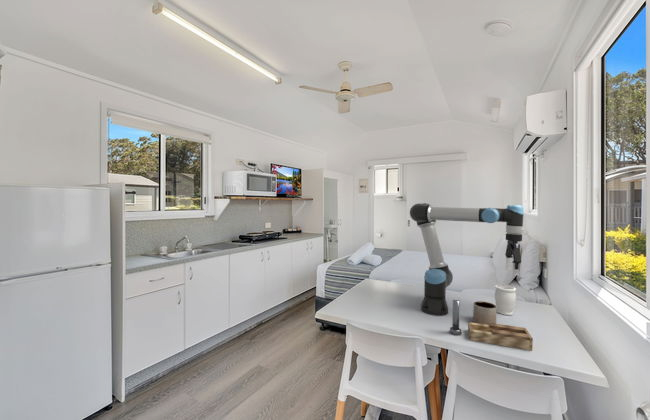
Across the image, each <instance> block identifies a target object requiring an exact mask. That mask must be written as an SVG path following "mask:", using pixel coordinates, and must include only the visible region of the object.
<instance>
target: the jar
mask: <svg viewBox="0 0 650 420" xmlns="http://www.w3.org/2000/svg"><path fill="white" fill-rule="evenodd" d="M494 288H495V292H494V301H495V302H494V303H495V305H496V307H497V309H496V313H498V314H500V315H505V316H513V315H514V312H513V311H515V310H514V309H515V307H516V306H515V305H516V301H517V295H516V290H517V288H516V287H514V286H511V285H505V284H496V285H494Z"/></svg>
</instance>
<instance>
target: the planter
mask: <svg viewBox="0 0 650 420" xmlns="http://www.w3.org/2000/svg"><path fill="white" fill-rule="evenodd" d="M496 310H497V307H496V304H495V303H494V304H493V303H491V302H487V301H479V300H478V301H477V300H476V301H474V302H473V310H472V311H473V312H472V313H473V314H472V320H473V322H474V323H479V324H486V325H489V323H496V324H497V311H496Z"/></svg>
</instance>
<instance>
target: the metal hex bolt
mask: <svg viewBox="0 0 650 420" xmlns="http://www.w3.org/2000/svg"><path fill="white" fill-rule="evenodd" d="M460 302H461V301H460V299H459V300H458V299H453V300H452V323H451V324H452V326H451V327H450V329H449V334H451V335H452V336H456V337H458V336H461V335H462V329H461V328H460Z"/></svg>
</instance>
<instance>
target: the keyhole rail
mask: <svg viewBox="0 0 650 420" xmlns="http://www.w3.org/2000/svg"><path fill="white" fill-rule="evenodd" d="M467 324H468V325H467V331H468V335H469V339H470V341H472V342H473V341H474V342H479V343H485V344H492V345H498V346H503V347H510V348H517V349H520V350H521V349H522V350H527V351H533V346H534V344H533V343H534V342H533V336H532V335H531V334H530V332H529V330H528V329H527V327H524V326H523V327H522V326H515V325H510V324H509V325H508V324H503V323H502V324H501V323H497V322H496V323H489V325H486V324H479V323H476V322H471V321H468V322H467Z"/></svg>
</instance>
